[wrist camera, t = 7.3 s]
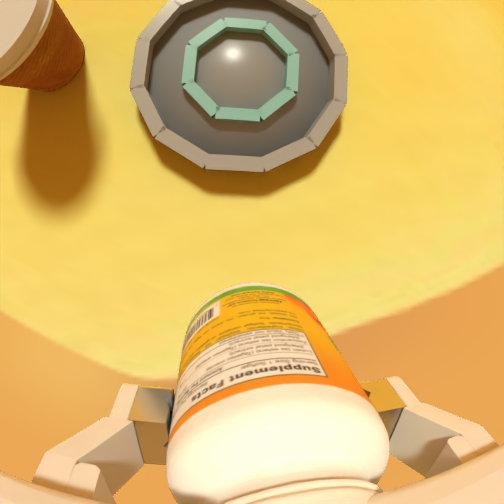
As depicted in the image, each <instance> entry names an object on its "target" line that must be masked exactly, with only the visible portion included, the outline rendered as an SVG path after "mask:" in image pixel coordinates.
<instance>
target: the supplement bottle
mask: <svg viewBox="0 0 504 504" xmlns="http://www.w3.org/2000/svg"><path fill="white" fill-rule="evenodd" d="M388 458H389V436H388V433H387V430H386V428H385V425H384V424H383V422H382V420H381V418H380V416H379V414H378V412H377V411H376V409H375V407H374V405H373V404H372V402H371V401H370V399H369V398H368V396H367V394H366V393H365V391H364V390H363V388H362V387H361V385H360V383H359V382H358V380H357V379H356V377H355V376H354V374H353V372H352V371H351V369H350V368H349V366H348V364H347V363H346V361H345V360H344V358H343V357H342V355H341V353H340V352H339V350H338V349H337V347H336V346H335V344H334V343H333V341H332V339H331V338H330V336H329V335H328V333H327V332H326V330H325V328H324V327H323V325H322V324H321V322H320V321H319V319H318V318H317V316H316V315H315V313H314V312H313V311H312V310H311V308H310V307H309V306H308V304H307V303H306V302H305V301H304V300H303V299H301V298H300V297H299V296H298V295H296V294H295V293H293V292H291V291H289V290H287V289H285V288H283V287H280V286H277V285H273V284H267V283H244V284H239V285H235V286H231V287H229V288H226V289H224V290H222V291H220V292H218V293H216V294H215V295H213V296H212V297H211V298H209V299H208V300H207V301H206V302H204V303H203V304H202V305H201V306H200V308H199V309H198V310H197V311H196V313H195V314H194V316H193V317H192V319H191V321H190V323H189V326H188V329H187V332H186V335H185V339H184V344H183V350H182V356H181V362H180V368H179V374H178V381H177V387H176V393H175V400H174V407H173V413H172V420H171V427H170V433H169V441H168V447H167V457H166V459H167V460H166V473H167V481H168V484H169V489H170V491H171V493H172V495H173V497H174V499H175V500H176V502H177V503H178V504H367V501H368V499H369V498H370V497H371V496H372V495H375V494H379V493H383V491H382V489H381V488H380V487H379V486H377V485H376V484H377V483H378V481H379V480H380V478H381V476H382V475H383V472H384V471H385V468H386V465H387V462H388Z"/></svg>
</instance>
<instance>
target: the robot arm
mask: <svg viewBox="0 0 504 504" xmlns="http://www.w3.org/2000/svg"><path fill="white" fill-rule="evenodd" d="M359 383H360V385H361V387H362V388H363V390H364V391H365V393H366V394H367V396H368V398H369V399H370V401H371V402H372V404H373V405H374V407H375V409H376V411H377V412H378V414H379V416H380V418H381V420H382V422H383V424H384V425H385V428H386V430H387V433H388V436H389V453H390V454H391V455H393V456H395V457H396V458H397V459H399V460H400V461H402V462H403V463H405V464H406V465H408V466H409V467H411V468H412V469H414V470H415V471H417V472H418V473H420V474H421V475H423V476H425V479H424V480H421V481H418V482H415V483H412V484H409V485H406V486H403V487H400V488H397V489H393V490H390V491H386V492H383V493H379V494H375V495H372V496H371V497H370V498H369V499H368V501H367V504H504V444H502V445H500V446H499V445H498V444H497V443H496V442H495V440H494V439H493V438H492V437H491V436H490V435H489V434H488V433H487V432H486V430H485V429H484V428H483V427H482V426H481V425H479V424H476V423H473V422H471V421H468V420H466V419H463V418H461V417H458V416H455V415H453V414H451V413H448V412H446V411H443V410H441V409H438V408H436V407H434V406H431V405H429V404H427V403H422V404H421V403H420V402H419V400H418V399H417V398H416V397H415V395H413V393H412V392H411V391H410V389H409V388H408V387H407V386H406V384H405V383H404V382H403V381H402V380H401V378H400V377H397V376H394V377H388V378H383V379H379V380H372V381H364V382H359ZM174 400H175V395H174V389H173V388H169V387H157V386H147V385H136V384H127V383H124V384H123V385H121V387H120V390H119V393H118V395H117V398H116V400H115V403H114V406H113V408H112V411H111V413H110V416H109V418H107V417H104V418H102V419H100V420H99V421H97V422H96V423H94V424H92V425H91V426H89V427H88V428H86V429H84V430H82V431H81V432H79V433H77V434H76V435H74V436H72V437H71V438H69V439H67V440H66V441H64V442H62V443H60V444H59V445H57V446H55V447H54V448H52V449H50V450H48V451H47V452H46V453H45V455H44V457H43V459H42V461H41V463H40V465H39V467H38V469H37V471H36V474H35V476H34V478H33V480H32V482H28V481H26V480H23V479H20V478H18V477H15V476H12V475H9V474H8V473H5V472H2V471H0V504H116V503H115V500H114V498H113V495H114V494H115V493H116V492H117V491H118V490H119V489H120V488H121V487H122V486H123V485H124V484H125V483H126V482H127V481H128V480H129V479H130V478H131V477H132V476H133V475H134V474H135V473H136V472H137V471H138V470H139V469H140V468H141V467H142V466H143V465H144V463H146V464H159V465H166V460H167V459H166V457H167V447H168V441H169V433H170V427H171V420H172V413H173V407H174Z"/></svg>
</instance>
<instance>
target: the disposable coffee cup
mask: <svg viewBox="0 0 504 504" xmlns="http://www.w3.org/2000/svg"><path fill="white" fill-rule="evenodd" d="M83 59H84V45H83V42H82V41H81V39H80V38H79V36H78V35H77V33H76V32H75V30H74V29H73V27H72V25H71V24H70V22H69V21H68V19H67V18H66V16H65V14H64V13H63V11H62V10H61V8H60V7H59V5H58V3H57V2H56V0H0V85H3V86H12V87H20V88H29V89H36V90H43V91H54V90H56V89H59V88H61V87H63V86H64V85H66V84H67V83H68V82H69V81H71V80H72V78H73V77H74V76H75V75H76V74H77V72H78V71H79V69H80V67H81V65H82V62H83Z"/></svg>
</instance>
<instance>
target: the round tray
mask: <svg viewBox="0 0 504 504" xmlns="http://www.w3.org/2000/svg"><path fill="white" fill-rule="evenodd" d="M320 11H321V10H319V9H318V8H316V7H315V6H313V5H312V4H310V3H309V2H307V1H305V0H169V1H168V3H167V4H166V5H165V6H164V7H163V8H162V9H161V10H160V11H159V12H158V14H157V15H156V16H155V17H154V18H153V19H152V21H151V22H150V23H149V24H148V25H147V26H146V28H145V29H144V30H143V31H142V33H141V34H140V35H139V36H138V38H139V39H137V41H136V47H135V53H134V60H133V66H132V74H131V81H130V89H131V90H130V91H131V93H132V96H133V98H134V100H135V102H136V104H137V106H138V108H139V110H140V112H141V114H142V116H143V118H144V120H145V122H146V124H147V126H148V128H149V130H150V132H151V134H152V136H153V137H154V138H155V139H156V140H158V141H159V142H161V143H163V144H164V145H166V146H168V147H169V148H171V149H172V150H174V151H176V152H177V153H179V154H181V155H182V156H184V157H185V158H187V159H189V160H190V161H192V162H193V163H195V164H197V165H198V166H200V167H201V168H204V167H205V169H212V170H233V171H250V172H267V171H269V170H271V169H273V168H275V167H277V166H279V165H281V164H283V163H286V162H288V161H290V160H292V159H294V158H296V157H298V156H301V155H303V154H305V153H307V152H309V151H312V150H314V149H316V147H318V146H319V145H320V143H321V142H322V140H323V139H324V137H325V136H326V134H327V133H328V131H329V130H330V128H331V127H332V126H333V124H334V123H335V121H336V120H337V118H338V117H339V115H340V114H341V112H342V111H343V109H344V108H345V106H346V105H345V104H346V103H347V78H348V56H346V54H347V53H346V51H345V49H344V47H343V45H342V44H341V42H340V40H339V38H338V37H337V35H336V33H335V32H334V30H333V28H332V27H331V25H330V23H329V22H328V20H327V18H326V17H325V15H324V14H323V12H321V13H320Z"/></svg>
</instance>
